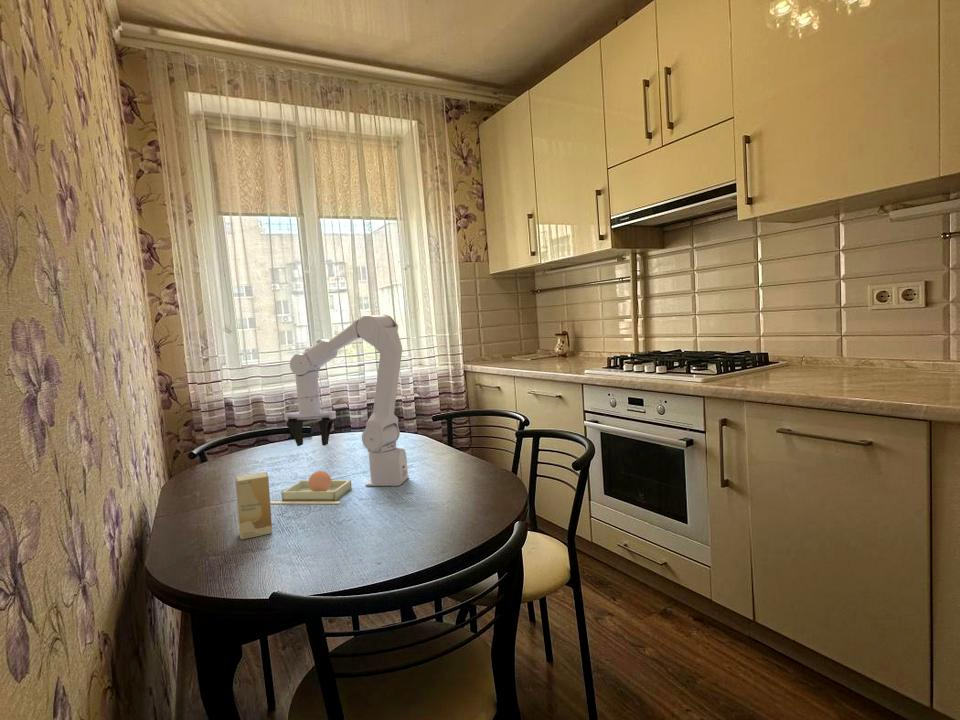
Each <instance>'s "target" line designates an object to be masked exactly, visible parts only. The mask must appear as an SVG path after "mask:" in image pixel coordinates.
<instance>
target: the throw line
mask: <svg viewBox="0 0 960 720" xmlns="http://www.w3.org/2000/svg"><path fill="white" fill-rule="evenodd" d="M340 504H341V501H338V500H336V501H282V500H281V501H278V500H277V501H276V500H275V501H270V505H340Z"/></svg>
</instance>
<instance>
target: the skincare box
mask: <svg viewBox="0 0 960 720" xmlns="http://www.w3.org/2000/svg"><path fill="white" fill-rule="evenodd" d="M234 478H235V491H236V504H237V517H238V519H237V520H238V521H237V522H238V531H239V538H240V540H246V539H250V538H255V537H261V536H265V535H269V534H270V533H271V534H273V525H272V511H271V504H270V502H271V498H270V497H271V496H270V494H271V493H270V483H269V482H270V481H269V480H270V479H269V475H268V471H264V472H258V473H251V474H250V473H249V474H245V475H238V476H235V477H234ZM271 534H270V535H271Z"/></svg>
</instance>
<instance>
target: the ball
mask: <svg viewBox="0 0 960 720" xmlns="http://www.w3.org/2000/svg"><path fill="white" fill-rule="evenodd" d="M308 480H309V482H308V484H309V487H310V489H311V490H312V491H327V490H328V489H329V488H330V485H331V480H332V478H331V476H330V474H329V473H328V472H326V471H323V470H317V471H314V472H313V473H311V475H310V476H309V478H308Z"/></svg>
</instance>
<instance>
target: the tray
mask: <svg viewBox="0 0 960 720" xmlns="http://www.w3.org/2000/svg"><path fill="white" fill-rule="evenodd" d="M308 482H309V479H308V480H299V481H298V482H296V483H295V484H293V485H291V486H290V487H288V488H286V489H285V490H283V491H281V493H280V494H281V501H338V500H339V499H340V498H341V497H343V496H344V495H346V493H348V492H349V491H350V490H352V480H351V479H348V480H347V479H345V480H344V479H341V480H340V479H335V480H334V479H331V485H330V488H329V489H328V490H327V491H312V490H311V489H310V487H309V484H308Z"/></svg>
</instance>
